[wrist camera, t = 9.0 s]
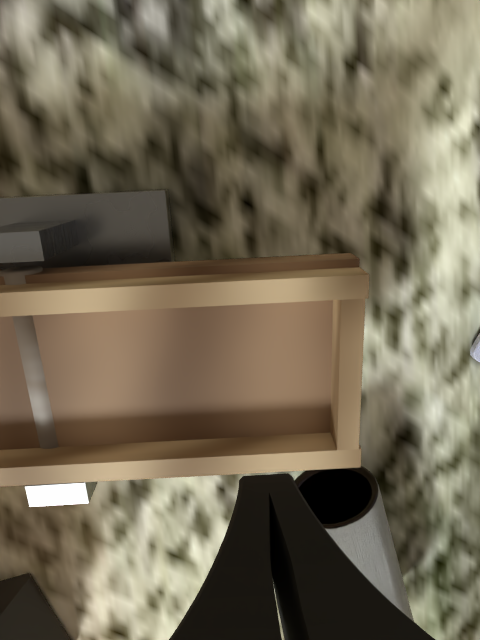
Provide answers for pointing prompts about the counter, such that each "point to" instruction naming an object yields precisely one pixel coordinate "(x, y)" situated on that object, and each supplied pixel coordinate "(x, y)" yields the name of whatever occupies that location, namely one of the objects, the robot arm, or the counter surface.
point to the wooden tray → (180, 368)
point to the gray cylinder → (357, 525)
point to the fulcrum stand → (83, 256)
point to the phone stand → (27, 612)
